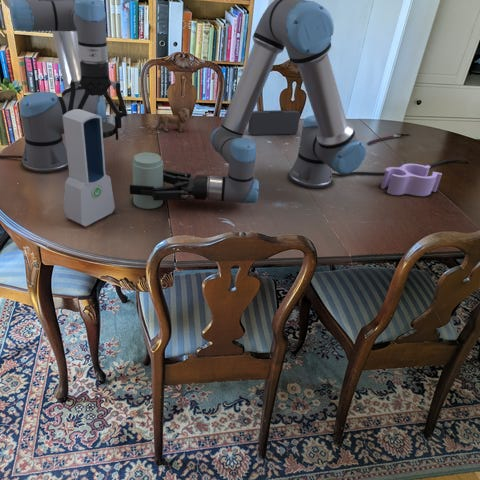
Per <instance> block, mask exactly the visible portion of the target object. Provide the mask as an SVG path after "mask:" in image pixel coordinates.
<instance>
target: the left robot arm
mask: <svg viewBox="0 0 480 480" xmlns="http://www.w3.org/2000/svg"><path fill="white" fill-rule="evenodd" d="M2 2H3V4H4V5H5V6H6V7H7V8H8V9H9V15H10V20H11V24H12V27H13V29H14V30H16V31H20V32H21V31H22V32H28V33H29V32H52V33H51V34H52V37H53V43H54V46H55V50H56V55H57V59H58V64H59V68H60V72H61V76H62V77H61V78H62V82H63V85H64V88H63V90H62V91H61V96H58V94H57V93H55V92H54V91H38V92H32V93H29V94H27V95H25V96H23V97H22V98H21V99H20V100H19V103H18V104H19V116H20V118H21V123H22V124H21V125H22V130H23V131H22V132H23V136H24V148H23V153H22V155H11V154H10V155H7V154H6V155H5V154H0V158H3V159H22V160H21V161H22V166H23V168H24V169H25V170H27V171H29V172H33V173H39V174H46V173H56V172H61V171H63V170H66V169H67V168H68V159H67V150H66V144H65V143H64V140H63V135H65V133H64V125H63V115H64V114H65V113H67V112H69V111H71V110H74V109H80V110H84V111H87V112H90V113H93V114H96V115H99V116H102V122H106V120H107V119H106V118H107V104H106V101H107V103H108V105H109V107H110V108H111V110H112V112H113V113H114V114H115V115H114V126H115V141H119V129H122V127H123V125H122V123H123V122H122V119H123V117H127V116H128V110H127V107H126V104H125V101H124V96H123V94H122V90H121V81H120V80H116V81H115V80H114V81H113V80H111V78H110V74H109V71H110V70H109V63H108V59H109V58H108V57H109V55H108V44H107V43H108V42H107V41H108V40H107V25H106V16H107V14H106V11H105V10H106V9H105V3H104V1H103V0H2ZM110 87H112V89H113V90H115V94H116V97H117V100H118V103H119V106H120V109H121V111H120V109H119V108H118V106H117V105H116V103H115V101H114V99H113V97H112V96H111V94H110V93H109V91H108V90H109V89H110Z"/></svg>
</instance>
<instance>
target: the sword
mask: <svg viewBox="0 0 480 480" xmlns="http://www.w3.org/2000/svg"><path fill="white" fill-rule="evenodd" d="M401 134H402V133H396V134H392V135H389V136H383V137H379V138H376V139H372V140H370V141H368V143H367V144H368V145H372V144H373V143H377V142H381V141H384V140H389V139H393V138H400V137H402V136H406V135H409V134H404V135H401Z"/></svg>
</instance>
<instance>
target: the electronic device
mask: <svg viewBox="0 0 480 480" xmlns="http://www.w3.org/2000/svg"><path fill="white" fill-rule="evenodd" d="M63 125H64V133H65V134H64V141H65V147H66V150H67V159H68V167H67V168H68V174H69V176H68V177H67V179H66V181H64V194H63V195H64V196H63V197H64V198H63V212H64V215H65V217H66V218H67V219H69V220H70V221H73V222H75V223H77V224H78V225H81V226H83V227H88V226H90V225H91V224H93V223H95V222H97V221H99V220H101V219H103V218H105V217H107V216H109V215H111V214H112V213H113V212H114V210H115V209H116V206H115V200H114V199H115V198H114V194H113V193H114V191H113V186H112V179H111V176H109V175H108V174H106V160H105V146H104V138H103V130H102V116H99V115H96V114H93V113H90V112H87V111H84V110H80V109H74V110H71V111H69V112H67V113H65V114H64V115H63Z"/></svg>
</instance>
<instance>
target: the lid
mask: <svg viewBox="0 0 480 480" xmlns="http://www.w3.org/2000/svg"><path fill="white" fill-rule="evenodd" d="M102 130H103V139H107V138H110V137H113V136H115V135H116V133H115V124H113V123H110V122H108V121H107V122H102Z"/></svg>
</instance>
